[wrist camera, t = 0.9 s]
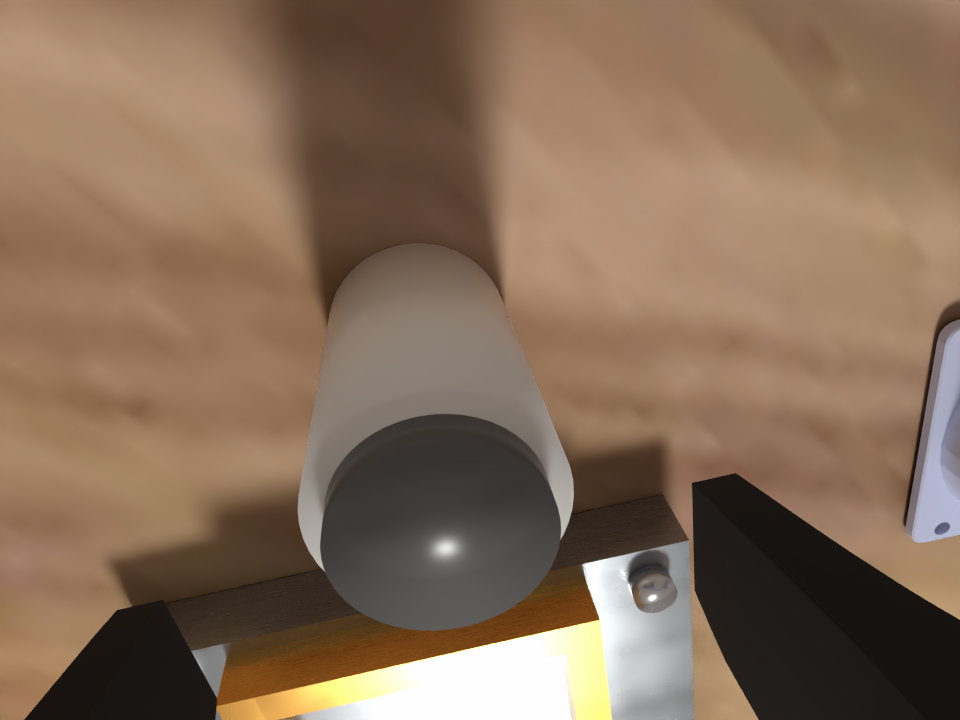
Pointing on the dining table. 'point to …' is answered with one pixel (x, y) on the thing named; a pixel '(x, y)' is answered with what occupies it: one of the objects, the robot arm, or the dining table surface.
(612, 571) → the grey fixture plate
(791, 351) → the dining table surface
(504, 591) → the lidded can
